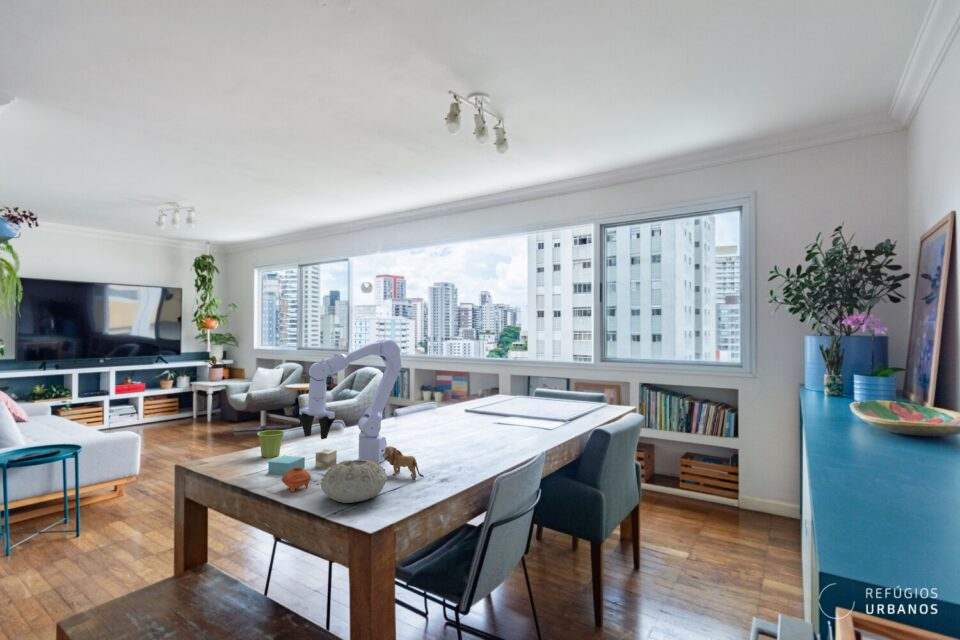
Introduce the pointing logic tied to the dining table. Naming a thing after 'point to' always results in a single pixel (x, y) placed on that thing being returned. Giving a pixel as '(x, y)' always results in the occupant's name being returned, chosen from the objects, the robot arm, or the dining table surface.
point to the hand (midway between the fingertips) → (315, 437)
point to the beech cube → (326, 458)
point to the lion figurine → (400, 461)
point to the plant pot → (270, 442)
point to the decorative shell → (354, 480)
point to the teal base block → (285, 464)
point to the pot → (296, 478)
